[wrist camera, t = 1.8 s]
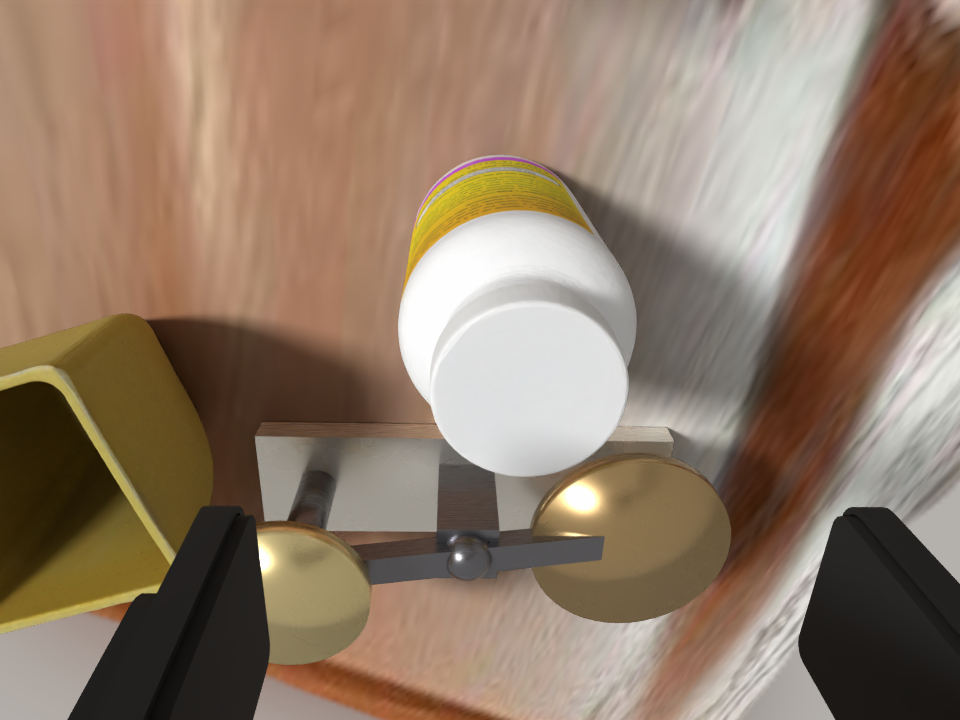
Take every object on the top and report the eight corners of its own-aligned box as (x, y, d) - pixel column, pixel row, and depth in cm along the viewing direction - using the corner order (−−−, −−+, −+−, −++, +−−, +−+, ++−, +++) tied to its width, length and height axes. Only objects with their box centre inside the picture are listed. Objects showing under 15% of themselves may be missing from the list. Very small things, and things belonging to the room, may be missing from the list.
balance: (705, 398, 31) (782, 515, 24) (677, 541, 35) (737, 682, 28) (246, 391, 31) (180, 510, 23) (264, 539, 34) (211, 683, 27)
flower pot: (260, 444, 32) (194, 590, 24) (82, 491, 33) (-42, 648, 24) (170, 262, 28) (55, 361, 20) (-29, 321, 29) (-219, 439, 21)
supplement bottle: (379, 212, 27) (325, 354, 16) (527, 115, 26) (586, 193, 14) (472, 345, 30) (484, 551, 18) (611, 263, 29) (718, 430, 17)
